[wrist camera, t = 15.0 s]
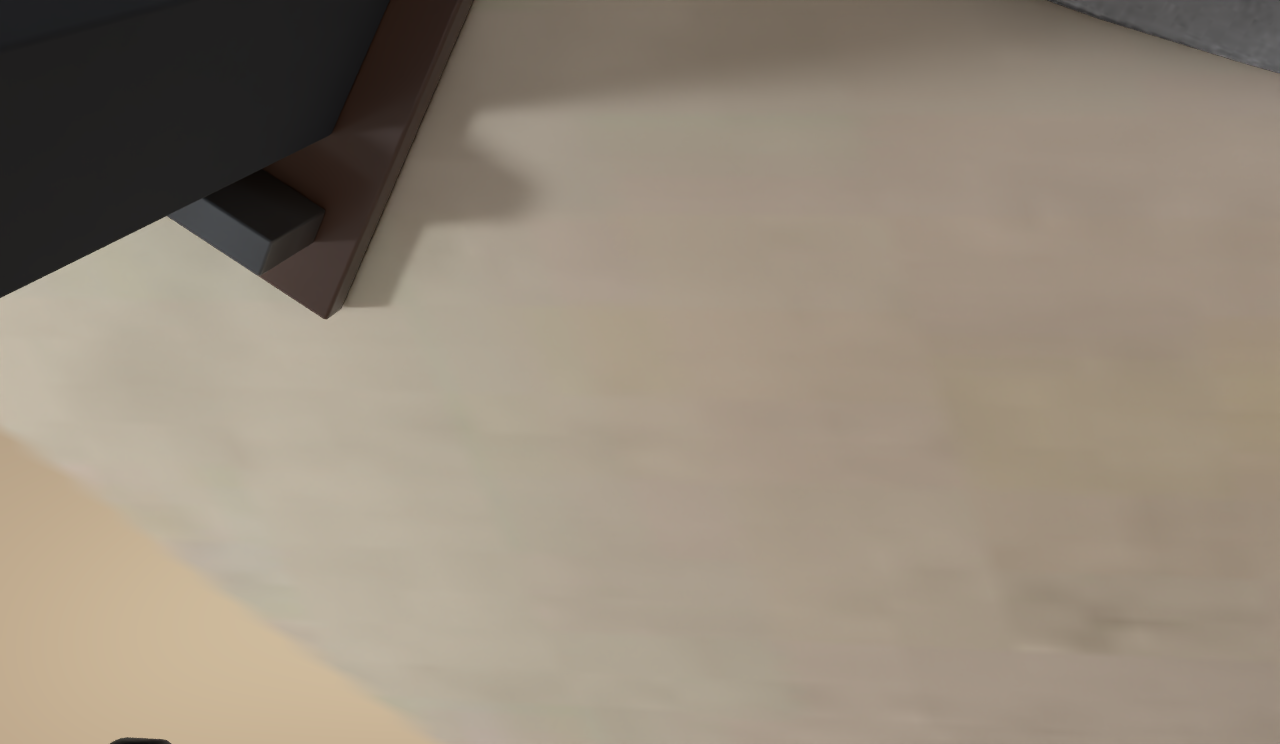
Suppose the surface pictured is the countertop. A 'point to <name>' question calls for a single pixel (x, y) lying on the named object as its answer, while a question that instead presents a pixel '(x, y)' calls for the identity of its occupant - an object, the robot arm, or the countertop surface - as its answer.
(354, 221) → the pad mount
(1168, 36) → the cleaver
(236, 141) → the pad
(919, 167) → the countertop surface
